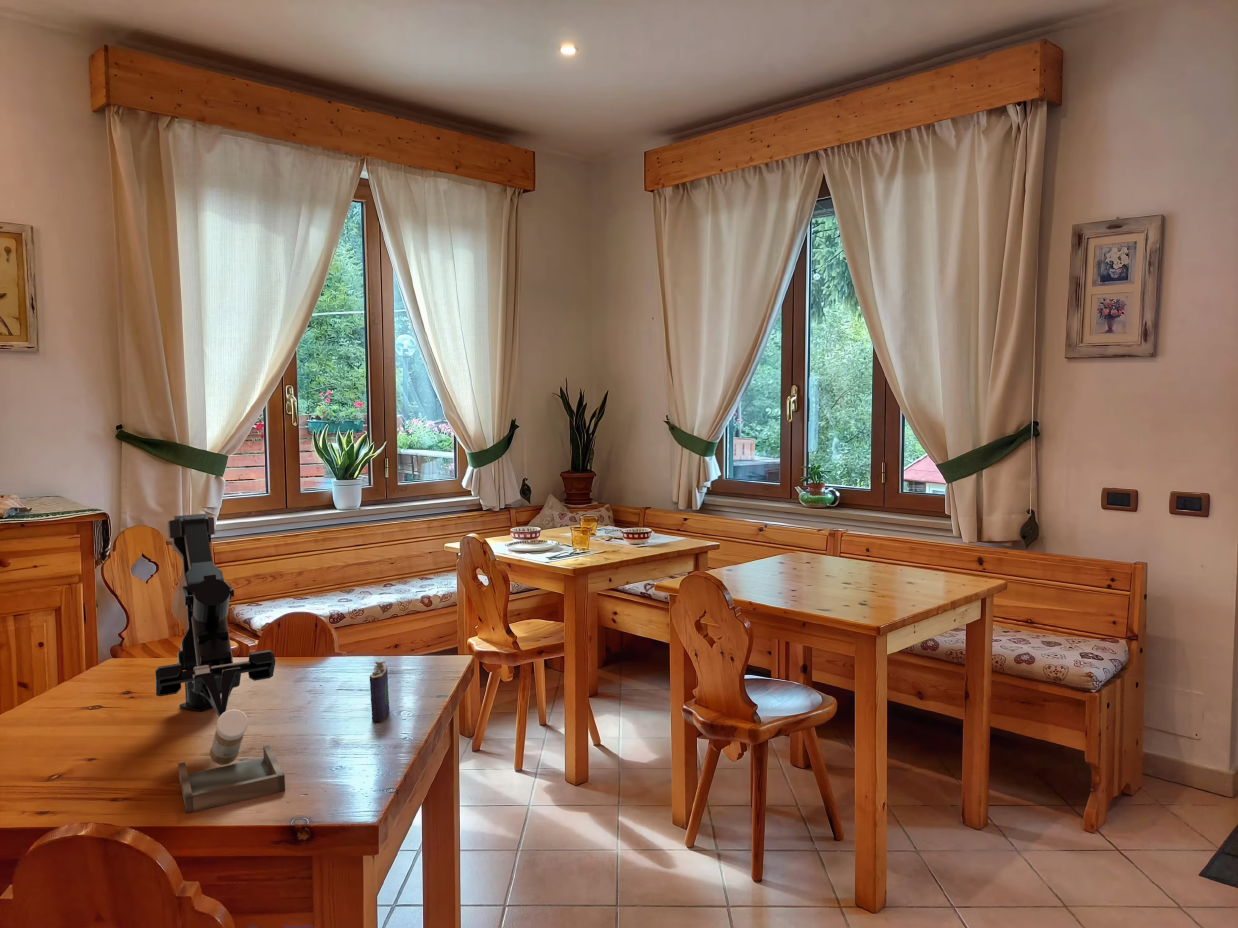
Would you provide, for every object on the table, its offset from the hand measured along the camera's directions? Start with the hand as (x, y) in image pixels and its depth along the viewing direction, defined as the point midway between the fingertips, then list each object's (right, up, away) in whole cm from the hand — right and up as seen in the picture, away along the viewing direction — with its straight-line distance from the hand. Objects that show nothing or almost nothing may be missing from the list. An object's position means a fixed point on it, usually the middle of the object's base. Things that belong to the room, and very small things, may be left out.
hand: (222, 716), depth 145 cm
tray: (+5, -9, -7) cm, 12 cm away
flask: (+21, -7, +23) cm, 31 cm away
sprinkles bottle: (0, -7, +2) cm, 7 cm away
